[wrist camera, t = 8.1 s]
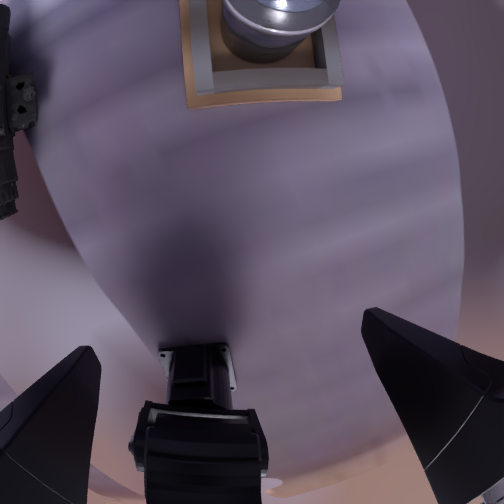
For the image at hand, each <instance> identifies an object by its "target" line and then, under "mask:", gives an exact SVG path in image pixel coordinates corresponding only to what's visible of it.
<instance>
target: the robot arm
mask: <svg viewBox="0 0 504 504" xmlns="http://www.w3.org/2000/svg"><path fill="white" fill-rule="evenodd" d="M361 334H362V337H363V340H364V342H365V345H366V347H367V350H368V352H369V355H370V357H371V360H372V362H373V365H374V368H375V370H376V372H377V374H378V376H379V378H380V380H381V382H382V384H383V386H384V388H385V390H386V392H387V394H388V396H389V398H390V400H391V402H392V404H393V406H394V408H395V410H396V412H397V414H398V416H399V418H400V420H401V422H402V424H403V426H404V428H405V430H406V432H407V434H408V436H409V438H410V440H411V443H412V445H413V447H414V449H415V451H416V453H417V455H418V457H419V460H420V462H421V464H422V466H423V469H424V470H425V474H426V476H427V478H428V481H429V483H430V485H431V487H432V490H433V492H434V495H435V497H436V499H437V502H438V504H468V503H470V502H471V501H473V500H474V499H476V498H477V497H479V496H481V497H482V499H483V502H482V503H481V504H504V361H502V360H498V359H495V358H493V357H490V356H487V355H485V354H482V353H479V352H477V351H474V350H472V349H470V348H468V347H465V346H463V345H460V344H459V343H456V342H454V341H452V340H450V339H447V338H445V337H443V336H441V335H438V334H436V333H434V332H431V331H429V330H427V329H425V328H422V327H420V326H418V325H416V324H413V323H411V322H409V321H407V320H404V319H402V318H400V317H398V316H395V315H393V314H391V313H389V312H386V311H384V310H382V309H380V308H377V307H374V308H369V309H366V310H365V311H364V314H363V320H362V327H361ZM222 348H224V349H222ZM163 354H165V355H163ZM158 358H159V360H160V363H161V365H162V367H163V370H164V372H165V375H166V377H167V379H168V381H167V390H166V398H165V404H160V403H153V402H152V401H147V400H146V401H145V405H144V408H143V407H142V409H141V412H139V416H138V422H137V427H136V430H135V432H134V434H133V436H132V438H131V440H130V442H129V446H128V448H129V451H130V452H131V453H132V455H133V456H134V460H135V463H136V468H137V471H141V472H144V484H145V485H144V486H145V498H146V503H147V504H262V501H261V478H264V477H265V476H266V474H267V470H268V461H269V457H268V446H267V442H266V438H265V436H264V433H263V430H262V428H261V425H260V422H259V420H258V417H257V414H256V412H255V409H247V410H233V407H232V398H231V391H235V390H236V389H237V385H236V380H235V375H234V370H233V365H232V360H231V355H230V350H229V346H228V344H227V343H214V344H205V345H196V346H186V347H176V348H164V349H160V350H159V351H158ZM100 379H101V364H100V362H99V360H98V358H97V356H96V354H95V352H94V350H93V348H92V347H91V346H79V347H78V348H77V349H75V350H74V351H73V352H72V353H70V354H69V355H68V356H67V357H65V358H64V359H63V360H62V361H60V363H58V364H57V365H55V366H54V367H53V368H52V369H51V370H49V371H48V372H47V373H46V374H45V375H43V376H42V377H41V378H40V379H38V380H37V381H36V382H35V383H34V384H32V385H31V386H30V387H29V388H28V389H26V390H25V391H24V392H23V393H22V394H21V395H19V396H18V397H17V398H16V399H15V400H14V402H11V403H10V404H9V405H8V406H7V407H5V408H4V409H3V410H2V411H1V412H0V504H87V492H88V479H89V468H90V458H91V450H92V442H93V436H94V429H95V423H96V417H97V410H98V402H99V390H100Z"/></svg>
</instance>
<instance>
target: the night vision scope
mask: <svg viewBox="0 0 504 504" xmlns="http://www.w3.org/2000/svg"><path fill="white" fill-rule="evenodd" d="M10 16H11V12H10V9H9V7H7V6H6V5H3V4H0V220H2V219H4V218H6V217H9V216H11V215H13V214H15V213H17V212H18V210H16V206H15V202H14V201H15V199H16V198H18V197H19V195H18V191H17V186H16V181H17V180H18V177H17V172H16V166H15V161H14V155H13V150H14V145H13V137H14V136H15V132H17V131H19V130H23V129H26V128H29V127H32V126H35V121H36V105H35V95H36V92H35V87H34V72H30V73H26V74H22V75H19V76H15V77H12V75H9V54H10V40H11V37H10V36H9V33H8V31H9V23H10Z"/></svg>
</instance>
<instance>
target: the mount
mask: <svg viewBox="0 0 504 504" xmlns="http://www.w3.org/2000/svg"><path fill="white" fill-rule="evenodd" d="M179 4H180V23H181V39H182V53H183V65H184V77H185V88H186V98H187V108H188V109H189V110H195V109H202V108H210V107H218V106H227V105H237V104H249V103H263V102H285V101H338V100H342V94H341V86H343V85H344V80H343V71H342V63H341V56H340V49H339V42H338V36H337V29H336V24H335V18H334V14H333V15H332V17H331V18H330V19H329V20H328V21H327V22H326V23H325V24H324V25H323V26H322V27H320V28H319V29H318V30H316V31H314V32H312V33H311V34H310V35H309V36H308V37H307V38H306V39H305V40H304V41H303V42H302V43H301V44H300V45H299V46H298V47H297V48H296V49H295V50H294V51H293V52H292V53H291V54H289V55H288V56H287V57H285V58H284V59H282V60H280V61H277V62H274V63H269V64H256V63H251V62H247V61H244V60H242V59H240V58H238V57H237V56H235V55H234V54H232V53H231V52H230V51H229V50H228V49H227V47H226V46H225V44H224V42H223V40H222V37H221V18H222V5H223V0H179Z"/></svg>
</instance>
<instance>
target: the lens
mask: <svg viewBox="0 0 504 504" xmlns="http://www.w3.org/2000/svg"><path fill="white" fill-rule="evenodd" d="M339 2H340V0H223V5H222V18H221V37H222V40H223V42H224V44H225V46H226V47H227V49H228V50H229V51H230V52H231V53H232V54H234V55H235V56H237V57H238V58H240V59H242V60H244V61H247V62H251V63H256V64H269V63H274V62H277V61H280V60H282V59H284V58H285V57H287V56H288V55H289V54H291V53H292V52H293V51H294V50H295V49H296V48H297V47H298V46H299V45H300V44H301V43H302V42H303V41H304V40H305V39H306V38H307V37H308V36H309V35H310V34H311V33H312V32H314V31H316V30H318V29H319V28H320V27H322V26H323V25H324V24H325V23H326V22H327V21H328V20H329V19H330V18H331V17H332V15H333V14H334V12H335V10H336V9H337V7H338V5H339Z"/></svg>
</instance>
